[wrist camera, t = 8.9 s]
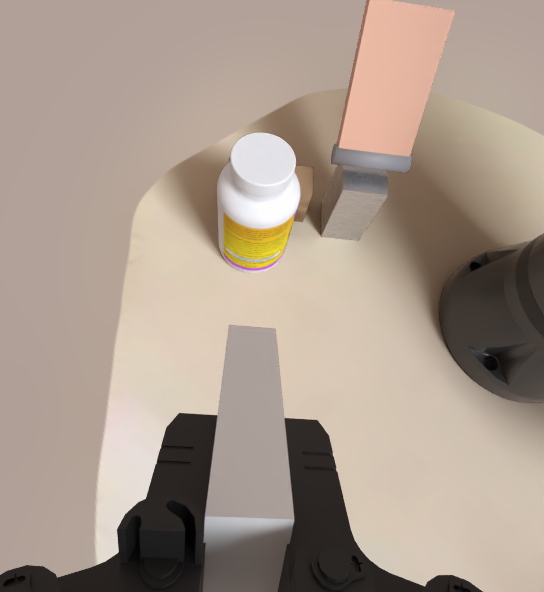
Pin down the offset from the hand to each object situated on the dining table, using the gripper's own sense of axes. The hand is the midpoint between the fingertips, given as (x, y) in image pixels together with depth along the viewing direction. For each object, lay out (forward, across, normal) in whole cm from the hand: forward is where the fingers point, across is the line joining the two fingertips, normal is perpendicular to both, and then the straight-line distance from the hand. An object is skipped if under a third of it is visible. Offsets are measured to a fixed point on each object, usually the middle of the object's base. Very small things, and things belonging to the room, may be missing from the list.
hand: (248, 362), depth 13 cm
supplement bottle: (+27, 0, -4) cm, 27 cm away
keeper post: (+30, +9, -2) cm, 31 cm away
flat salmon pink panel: (+23, +9, +10) cm, 27 cm away
